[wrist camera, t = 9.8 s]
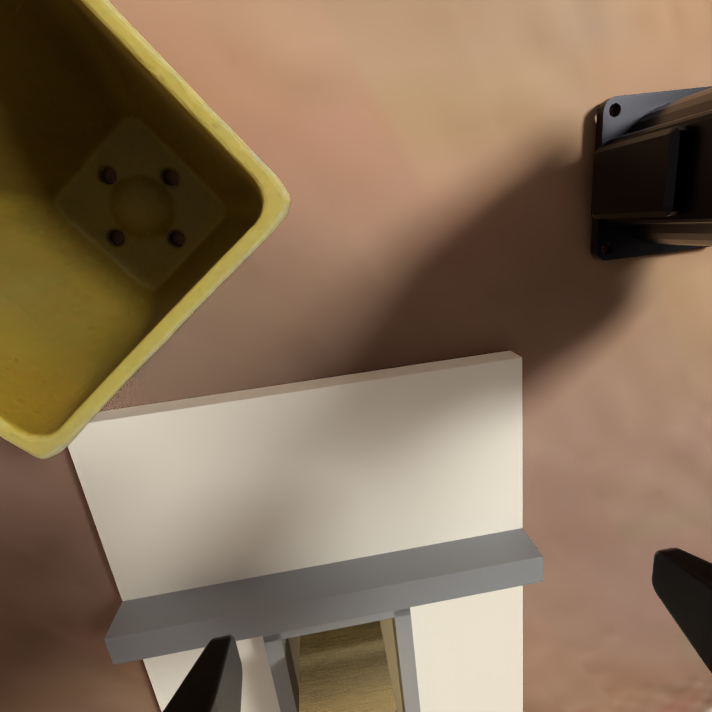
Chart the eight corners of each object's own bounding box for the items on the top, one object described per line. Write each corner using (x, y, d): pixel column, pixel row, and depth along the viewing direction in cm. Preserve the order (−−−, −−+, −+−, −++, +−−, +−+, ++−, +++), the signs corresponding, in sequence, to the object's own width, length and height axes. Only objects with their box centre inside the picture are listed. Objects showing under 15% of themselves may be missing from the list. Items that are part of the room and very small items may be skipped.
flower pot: (161, 361, 19) (41, 472, 10) (-27, 208, 16) (-395, 185, 8) (302, 215, 18) (301, 201, 9) (125, 28, 15) (-105, -231, 7)
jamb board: (510, 350, 20) (546, 371, 17) (513, 695, 27) (539, 754, 24) (75, 415, 19) (31, 450, 16) (193, 764, 26) (179, 836, 23)
